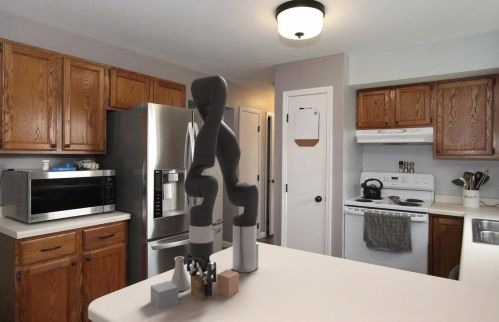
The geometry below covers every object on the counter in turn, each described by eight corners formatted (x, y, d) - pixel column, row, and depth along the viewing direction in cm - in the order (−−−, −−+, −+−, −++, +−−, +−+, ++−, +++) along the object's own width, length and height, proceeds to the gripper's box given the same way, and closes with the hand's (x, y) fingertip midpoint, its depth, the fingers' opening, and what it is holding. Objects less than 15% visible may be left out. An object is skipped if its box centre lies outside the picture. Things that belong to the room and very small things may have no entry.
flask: (185, 293, 99) (185, 262, 99) (164, 291, 100) (164, 260, 100) (193, 284, 106) (193, 255, 106) (174, 282, 107) (174, 253, 107)
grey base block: (169, 296, 97) (169, 280, 97) (178, 303, 92) (178, 286, 92) (150, 302, 93) (150, 285, 93) (158, 309, 88) (158, 292, 88)
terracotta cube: (227, 287, 103) (227, 269, 103) (238, 291, 100) (239, 272, 100) (217, 292, 99) (217, 274, 99) (229, 296, 96) (229, 277, 96)
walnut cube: (204, 290, 101) (204, 272, 101) (212, 296, 97) (212, 277, 97) (190, 295, 98) (190, 276, 97) (198, 301, 94) (198, 281, 94)
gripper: (223, 241, 94) (223, 295, 94) (200, 233, 105) (199, 280, 105) (202, 246, 89) (201, 302, 89) (179, 236, 100) (179, 286, 100)
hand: (200, 290), depth 97 cm, fingers open, 8 cm apart
